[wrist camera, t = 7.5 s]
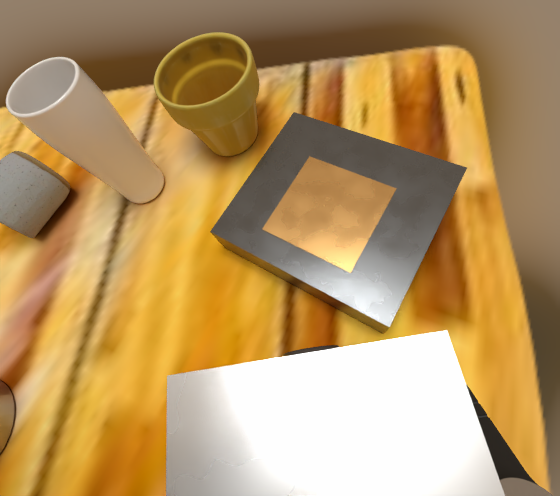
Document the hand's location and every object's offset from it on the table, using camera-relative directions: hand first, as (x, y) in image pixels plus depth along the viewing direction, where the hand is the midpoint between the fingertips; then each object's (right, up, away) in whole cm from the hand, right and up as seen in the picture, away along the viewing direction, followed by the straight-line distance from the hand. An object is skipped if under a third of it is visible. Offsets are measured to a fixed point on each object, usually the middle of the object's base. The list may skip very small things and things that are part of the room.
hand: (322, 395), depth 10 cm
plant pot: (-7, +19, +29) cm, 36 cm away
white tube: (-18, +12, +29) cm, 36 cm away
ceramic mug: (-33, +10, +31) cm, 46 cm away
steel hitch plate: (+4, +8, +22) cm, 24 cm away
